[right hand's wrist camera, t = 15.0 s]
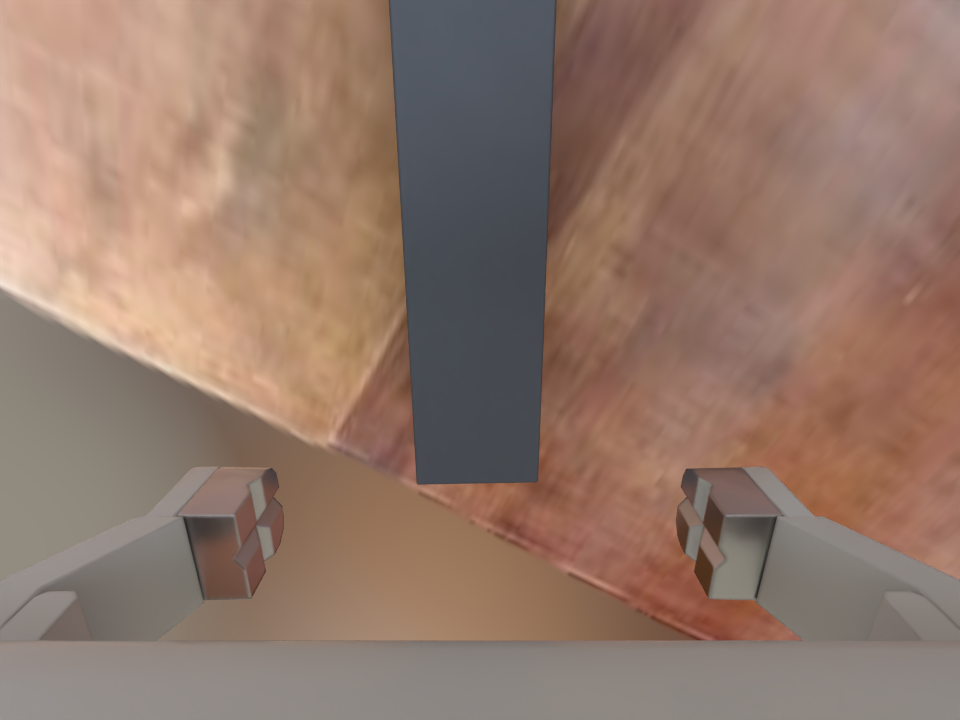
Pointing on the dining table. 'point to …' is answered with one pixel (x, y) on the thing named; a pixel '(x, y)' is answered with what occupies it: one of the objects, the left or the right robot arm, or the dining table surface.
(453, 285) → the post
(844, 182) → the dining table surface
